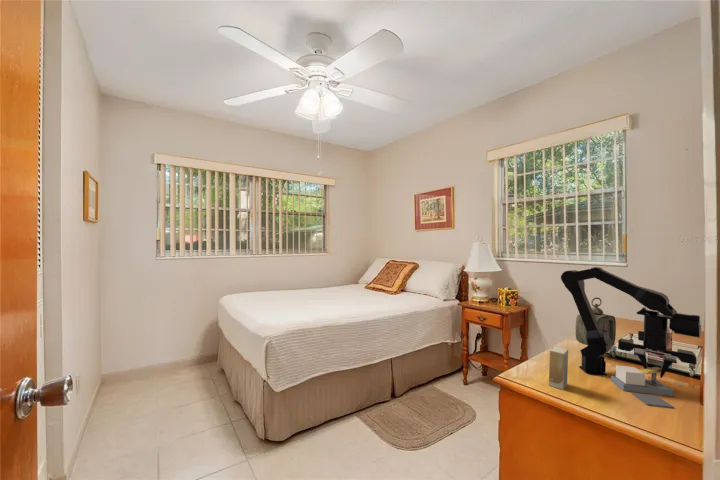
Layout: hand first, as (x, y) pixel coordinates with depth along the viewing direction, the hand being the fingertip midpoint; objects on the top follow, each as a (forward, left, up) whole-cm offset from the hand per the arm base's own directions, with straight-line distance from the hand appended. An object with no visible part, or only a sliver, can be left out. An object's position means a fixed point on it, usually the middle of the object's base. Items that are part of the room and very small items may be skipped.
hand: (653, 375), depth 104 cm
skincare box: (-31, -5, -5) cm, 32 cm away
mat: (-6, -9, -5) cm, 12 cm away
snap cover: (-7, 0, -3) cm, 8 cm away
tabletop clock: (-1, +35, -5) cm, 35 cm away
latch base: (-4, 0, -5) cm, 6 cm away
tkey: (-1, -1, -2) cm, 3 cm away
